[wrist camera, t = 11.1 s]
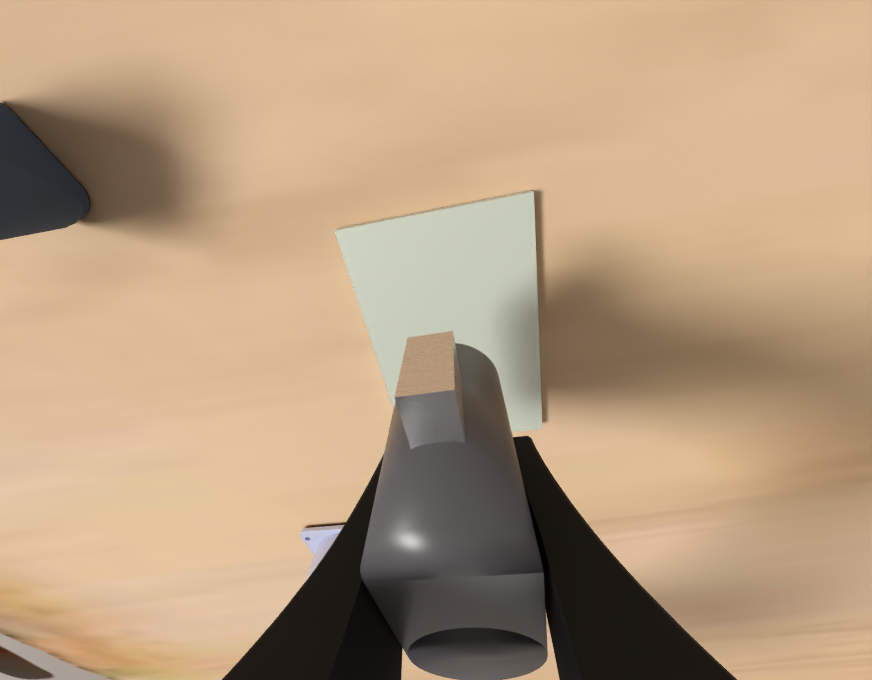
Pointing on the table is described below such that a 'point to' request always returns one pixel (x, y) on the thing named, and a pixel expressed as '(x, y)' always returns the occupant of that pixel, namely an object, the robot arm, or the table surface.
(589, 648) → the robot arm
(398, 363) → the board
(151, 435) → the table surface
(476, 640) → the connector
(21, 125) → the vaping device
